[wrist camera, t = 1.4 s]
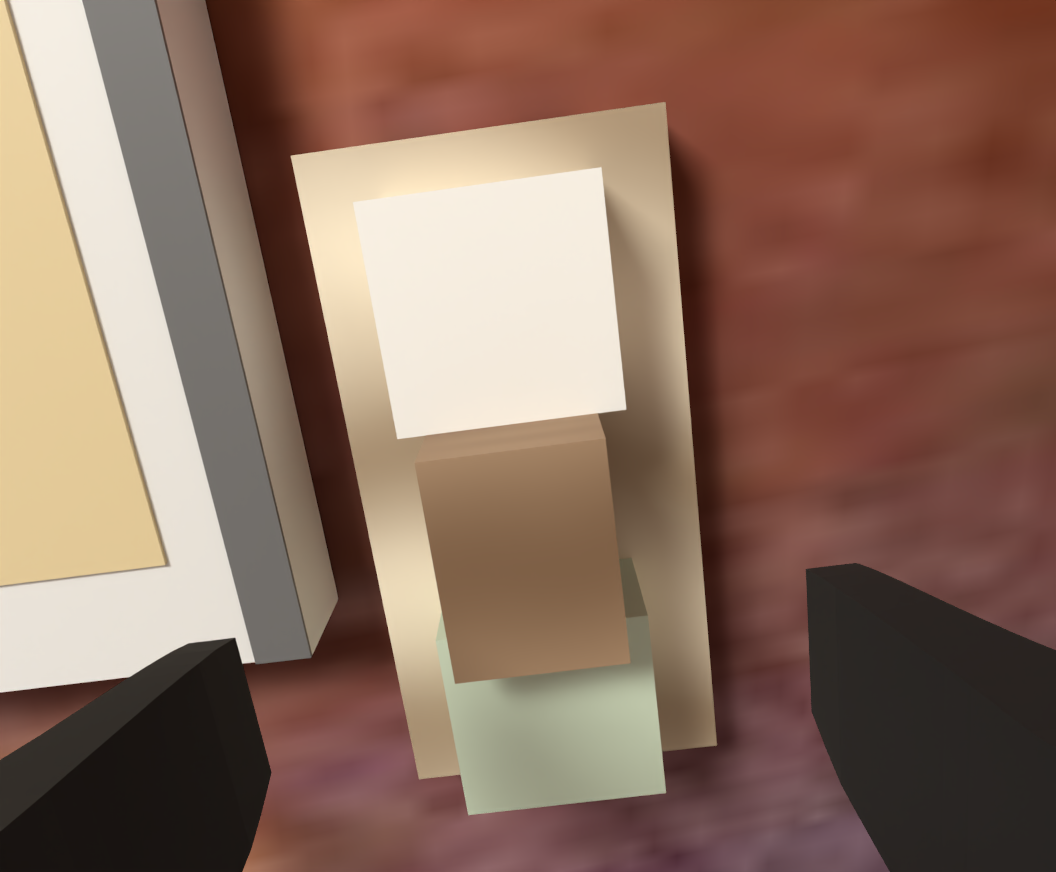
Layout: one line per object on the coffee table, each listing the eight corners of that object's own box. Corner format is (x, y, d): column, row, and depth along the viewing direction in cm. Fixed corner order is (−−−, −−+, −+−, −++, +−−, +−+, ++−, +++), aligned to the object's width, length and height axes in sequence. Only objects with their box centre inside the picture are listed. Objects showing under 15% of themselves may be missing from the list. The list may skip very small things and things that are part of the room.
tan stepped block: (699, 694, 21) (764, 885, 15) (428, 725, 21) (392, 925, 15) (650, 112, 17) (711, 72, 11) (317, 159, 17) (211, 144, 11)
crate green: (648, 715, 19) (666, 793, 16) (476, 736, 19) (468, 814, 17) (631, 557, 18) (647, 615, 15) (447, 580, 18) (435, 641, 15)
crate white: (612, 377, 16) (626, 409, 14) (416, 403, 17) (397, 439, 14) (589, 170, 15) (601, 167, 13) (379, 200, 16) (352, 202, 13)
